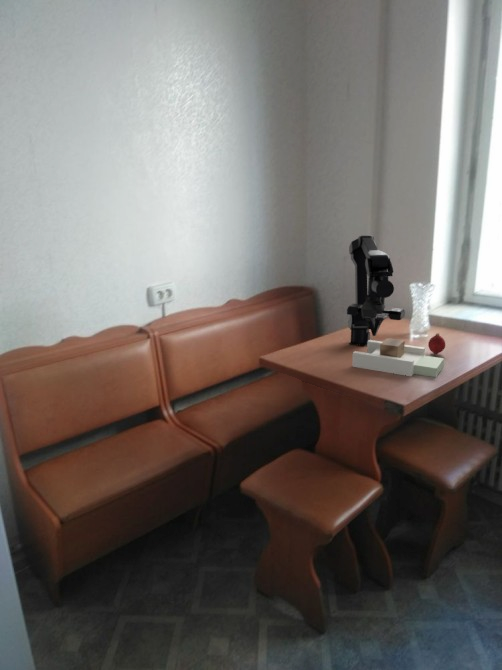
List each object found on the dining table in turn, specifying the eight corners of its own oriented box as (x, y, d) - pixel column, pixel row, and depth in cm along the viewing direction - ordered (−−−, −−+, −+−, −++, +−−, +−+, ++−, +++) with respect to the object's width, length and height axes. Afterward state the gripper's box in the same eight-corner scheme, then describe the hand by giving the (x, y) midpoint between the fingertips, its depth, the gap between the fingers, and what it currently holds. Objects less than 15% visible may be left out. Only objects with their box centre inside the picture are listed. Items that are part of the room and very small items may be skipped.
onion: (445, 357, 178) (447, 335, 176) (428, 356, 179) (430, 335, 177) (443, 352, 184) (444, 331, 182) (426, 351, 185) (428, 330, 183)
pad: (413, 373, 163) (414, 364, 163) (421, 363, 172) (422, 355, 172) (435, 377, 160) (436, 368, 159) (443, 366, 169) (443, 358, 168)
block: (379, 358, 170) (380, 344, 169) (386, 351, 176) (387, 338, 175) (397, 360, 167) (398, 346, 166) (403, 354, 173) (404, 340, 172)
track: (352, 366, 171) (352, 352, 170) (368, 352, 185) (369, 339, 184) (411, 376, 161) (412, 361, 160) (424, 361, 175) (425, 347, 173)
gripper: (341, 293, 167) (340, 338, 172) (397, 298, 158) (394, 345, 162) (353, 287, 176) (351, 330, 181) (406, 292, 167) (403, 337, 171)
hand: (374, 335), depth 173 cm, fingers closed
